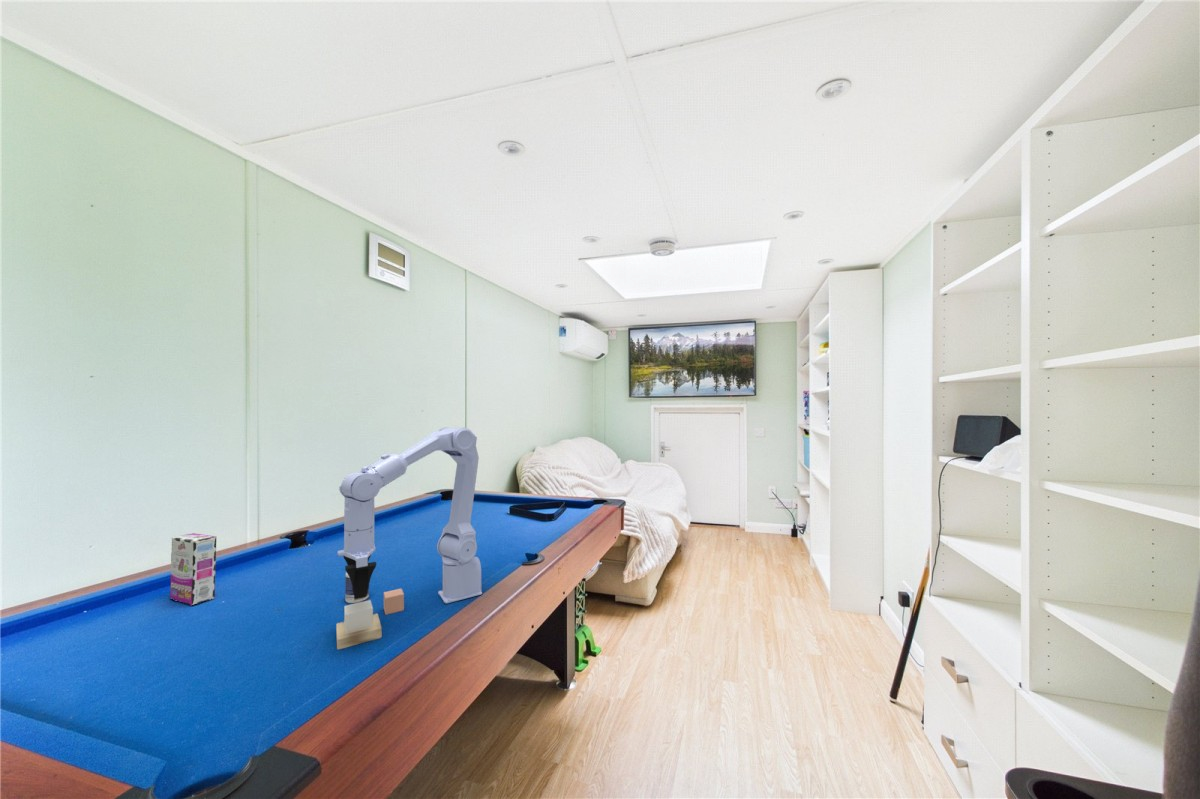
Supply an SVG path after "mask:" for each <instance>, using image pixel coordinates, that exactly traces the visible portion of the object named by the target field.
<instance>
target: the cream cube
mask: <svg viewBox="0 0 1200 799" xmlns="http://www.w3.org/2000/svg"><path fill="white" fill-rule="evenodd" d="M343 613H344V618H343V619H344V620H343V622H344V626H345V634H349V633H353V632H356V631H360V630H364V629H368V628H371V627H373V614H374V607H373V603H372V601H371V599H368V600H363V601H361V602H357V603H350V604H348V605H344V612H343Z"/></svg>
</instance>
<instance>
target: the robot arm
mask: <svg viewBox="0 0 1200 799" xmlns="http://www.w3.org/2000/svg"><path fill="white" fill-rule="evenodd" d="M477 438H478V437H477V436H476V435H475V433H474V432H473V431H472V430H471V429H470V428H468V427H461V428H460V427H458V428H457V427H442V428H441V427H440V429H438V430H436V431H433V432H431V433H430V434H429V435H428V436H426V437H424V438H422V439H421V440H420V441H417V443H415V444H414V445H412V446H410V447H409V448H407V449H406V450H405V451H403V452H401V453H400V454H397V453H390V454H388V453H384V454H383V455H381V456H380V457H381V458H380V459H378V460H377V461H375V462H374V463H372V464H370V465H364V466H363V467H361V468H360V469H361V471H360V472H355V471H354V472H352V473H349V474H348V475H346V476H345V477H344V480H342V482H341V485H339V487H338V488H339V489H338V490H339V492H340V494H341V496H342V497H344V510H343V511H344V512H343V514H344V515H343V516H344V517H343V522H344V523H343V525H344V526H343V529H344V530H343V531H344V532H343V534H344V535H343V549H342V550H341V549H340V550H338V551H337V556H338V557H343V559H344V560H345V563H346V565H344V569H345V573H346V572H347V574H348V575H349V577H350V580H351V583H352V588H353V594H354V597H355V599H358V598H363V597H366V596H367V592H368V588H369V589H370V583H371V579H372V575H373V572H374V571H375V569H376V567H377V562H376V561H372V562H369V560H370V558H371V557H372V554H373V553H374V552H375V551H376V545H375V498H376V496H378V494H379V492H380V490H381V489H383V488H384V487H386V486H387V485H389V484H391V483H392V482H394V481H396V480H397V479H398V478H400V477H402V476H403V475H405V474H406V472H407V469H408V466H411V465H412V464H414V463H416V462H418V461H419V460H421V459H423V458H425V457H426V456H428V455H430V454H432V453H434V452H436V451H441V452H443V453H445V454H447V455H449V456H450V457H451V459H452V460H453V461H454V462H455V463H456V470H455V476H454V483H453V491H452V498H451V504H450V512H449V519H448V522H447V524H446V525H445V526H444V527H443V528H442V532H441V535H440V538H439V539H438V541H437V545H436V549H437V553H438V554H439V555H440V556H441V561H442V590H438V592H437V593H438V595H439V597H440V599H442V601H443V603H445V604H450V603H454V602H458V601H461V600H465V599H469V598H472V597H474V598H475V597H476V596H480V595H482V594H483V592H482V566H481V561H480V558H479V557H478V556H476V554H477V550H478V543H477V540H476V536H477V532H476V530H475V528H474V527H473V526H472V524H471V523H472V522H471V521H472V512H473V506H474V498H475V491H476V483H477V474H478V468H479V466H478V465H479V459H480V458H479V453H478V449H477V440H478V439H477Z"/></svg>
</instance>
